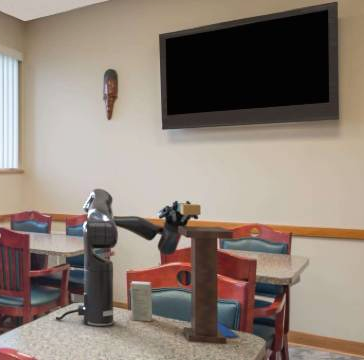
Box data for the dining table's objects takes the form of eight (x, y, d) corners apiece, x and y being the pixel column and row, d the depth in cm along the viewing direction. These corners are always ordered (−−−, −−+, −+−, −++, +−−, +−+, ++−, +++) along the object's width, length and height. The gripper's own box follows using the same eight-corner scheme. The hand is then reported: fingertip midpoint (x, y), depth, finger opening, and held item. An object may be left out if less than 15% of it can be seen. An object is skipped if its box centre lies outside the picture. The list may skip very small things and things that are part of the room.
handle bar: (183, 214, 152) (183, 205, 152) (171, 210, 174) (171, 201, 174) (200, 214, 151) (200, 205, 151) (186, 210, 173) (186, 201, 173)
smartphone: (213, 336, 144) (194, 320, 159) (213, 339, 144) (194, 323, 159) (238, 336, 144) (217, 320, 159) (238, 339, 144) (217, 323, 159)
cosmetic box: (152, 318, 164) (152, 282, 164) (151, 322, 160) (151, 284, 160) (132, 316, 166) (132, 280, 166) (130, 319, 162) (130, 282, 162)
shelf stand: (186, 344, 138) (186, 230, 138) (178, 329, 152) (178, 226, 152) (233, 347, 136) (232, 231, 136) (220, 331, 149) (219, 226, 149)
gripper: (196, 234, 178) (205, 213, 164) (155, 233, 181) (161, 212, 167) (194, 215, 182) (203, 193, 167) (154, 214, 185) (159, 193, 170)
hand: (182, 203), depth 167 cm, fingers closed on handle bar, 3 cm apart
